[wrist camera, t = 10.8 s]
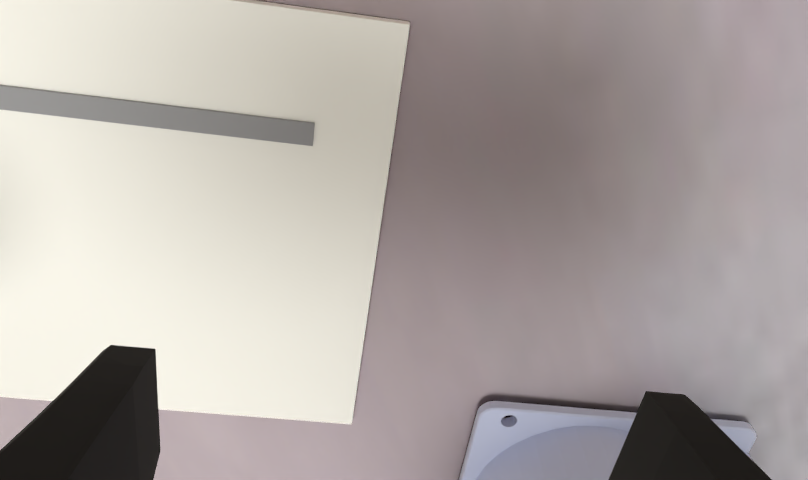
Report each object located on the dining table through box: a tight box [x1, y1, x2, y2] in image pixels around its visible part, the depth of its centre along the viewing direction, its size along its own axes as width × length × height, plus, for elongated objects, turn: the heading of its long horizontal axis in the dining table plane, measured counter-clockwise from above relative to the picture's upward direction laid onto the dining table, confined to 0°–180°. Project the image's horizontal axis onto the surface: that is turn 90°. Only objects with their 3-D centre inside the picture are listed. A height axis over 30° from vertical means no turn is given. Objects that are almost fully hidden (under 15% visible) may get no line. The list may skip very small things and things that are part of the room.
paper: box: [0, 0, 410, 424], centre depth 19 cm, size 16×13×1 cm
